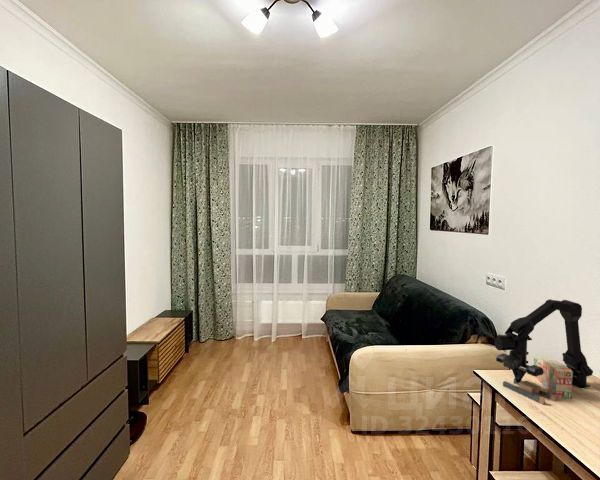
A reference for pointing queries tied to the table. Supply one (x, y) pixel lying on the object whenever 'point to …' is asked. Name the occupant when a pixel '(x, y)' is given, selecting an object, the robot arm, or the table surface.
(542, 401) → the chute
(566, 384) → the stack of blocks
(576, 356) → the robot arm
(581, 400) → the table surface
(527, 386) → the walnut block
